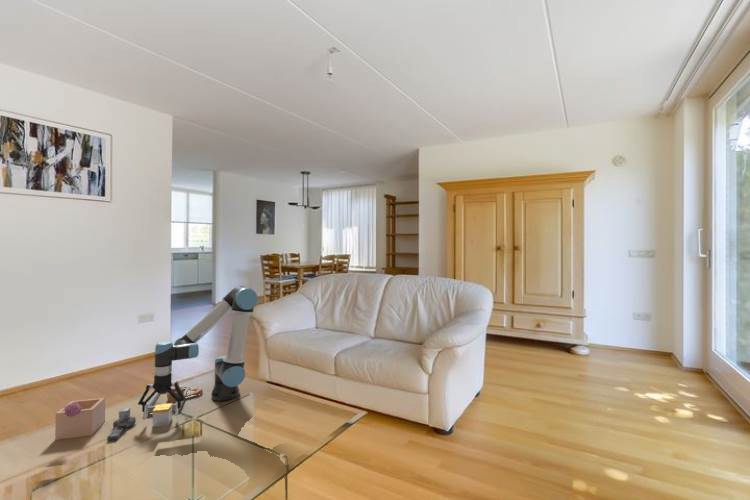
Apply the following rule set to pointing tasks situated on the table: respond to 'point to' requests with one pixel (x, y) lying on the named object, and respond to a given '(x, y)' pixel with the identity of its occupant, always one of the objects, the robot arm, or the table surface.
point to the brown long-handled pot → (171, 399)
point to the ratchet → (121, 424)
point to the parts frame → (154, 398)
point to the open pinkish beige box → (81, 419)
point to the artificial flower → (72, 409)
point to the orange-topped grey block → (162, 415)
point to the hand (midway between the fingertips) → (161, 416)
